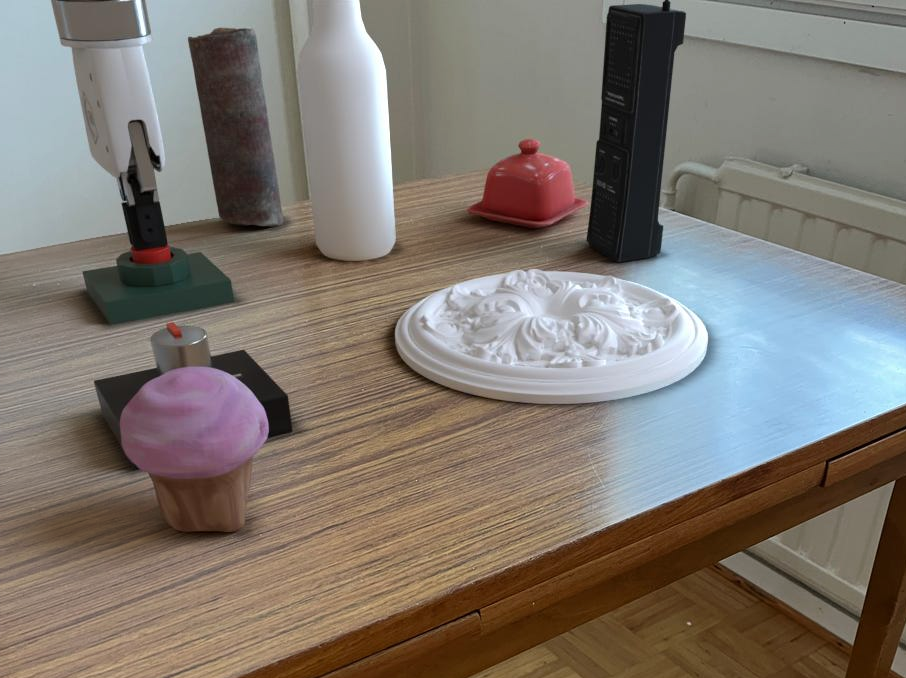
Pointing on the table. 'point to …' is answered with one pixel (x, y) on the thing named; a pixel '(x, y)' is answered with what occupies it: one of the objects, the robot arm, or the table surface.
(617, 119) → the portable radio
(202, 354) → the dial
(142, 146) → the robot arm
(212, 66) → the candle
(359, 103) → the white bottle
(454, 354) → the ceiling medallion
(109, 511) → the table surface
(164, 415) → the cupcake
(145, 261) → the button
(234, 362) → the dial panel
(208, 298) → the box
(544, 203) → the butter dish
